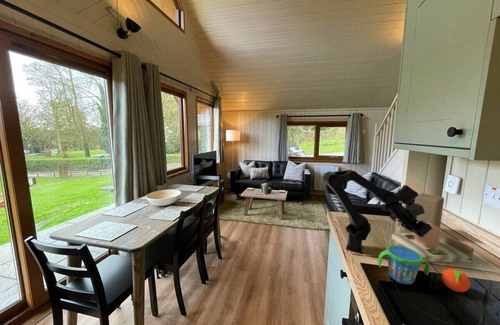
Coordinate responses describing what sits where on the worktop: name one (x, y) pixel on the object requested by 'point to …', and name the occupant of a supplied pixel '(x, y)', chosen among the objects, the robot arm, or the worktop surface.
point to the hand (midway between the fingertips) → (420, 233)
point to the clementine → (456, 280)
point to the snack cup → (403, 263)
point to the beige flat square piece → (437, 248)
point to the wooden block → (430, 208)
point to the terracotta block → (429, 237)
